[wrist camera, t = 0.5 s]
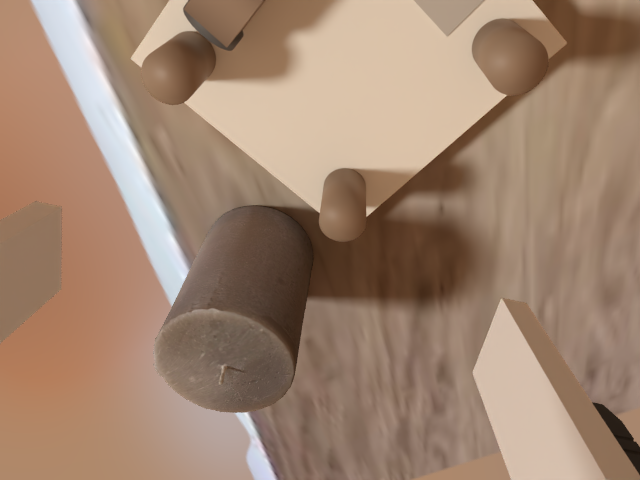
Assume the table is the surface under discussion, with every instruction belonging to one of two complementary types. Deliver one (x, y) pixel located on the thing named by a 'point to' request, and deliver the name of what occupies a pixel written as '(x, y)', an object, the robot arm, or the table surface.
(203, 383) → the pillar candle
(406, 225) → the table surface
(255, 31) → the stool seat
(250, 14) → the folding leg
